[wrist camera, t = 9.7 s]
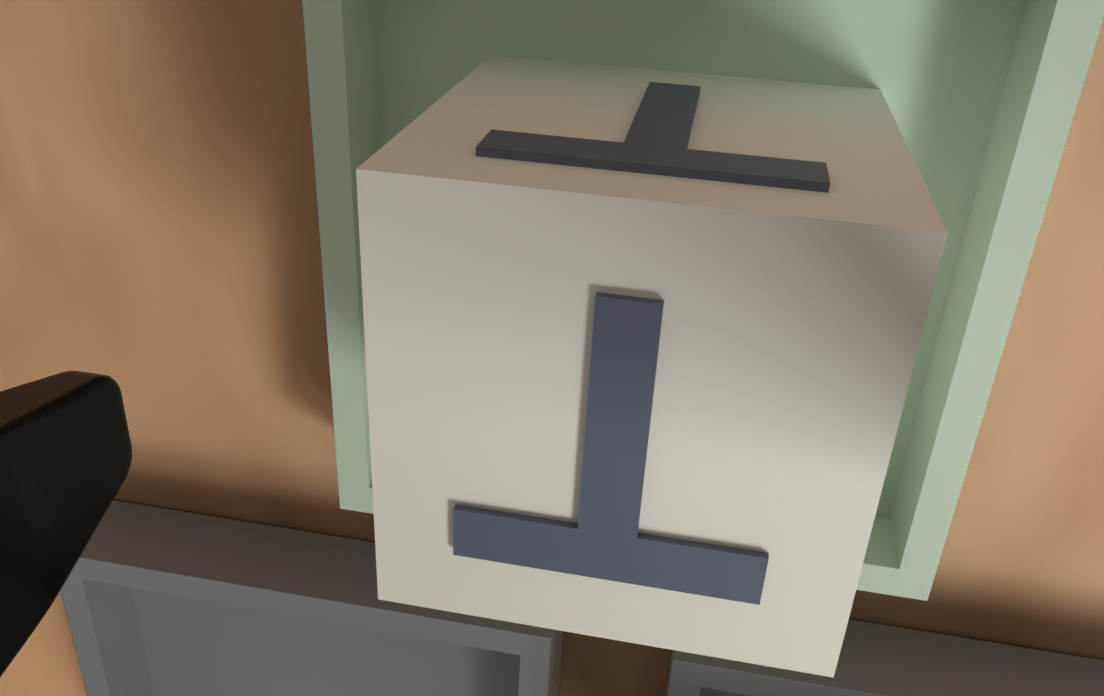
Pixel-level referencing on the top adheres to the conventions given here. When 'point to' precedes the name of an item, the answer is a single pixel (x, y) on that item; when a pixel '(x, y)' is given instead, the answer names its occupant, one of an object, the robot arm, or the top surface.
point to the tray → (764, 53)
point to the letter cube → (641, 352)
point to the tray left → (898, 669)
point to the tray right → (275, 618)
